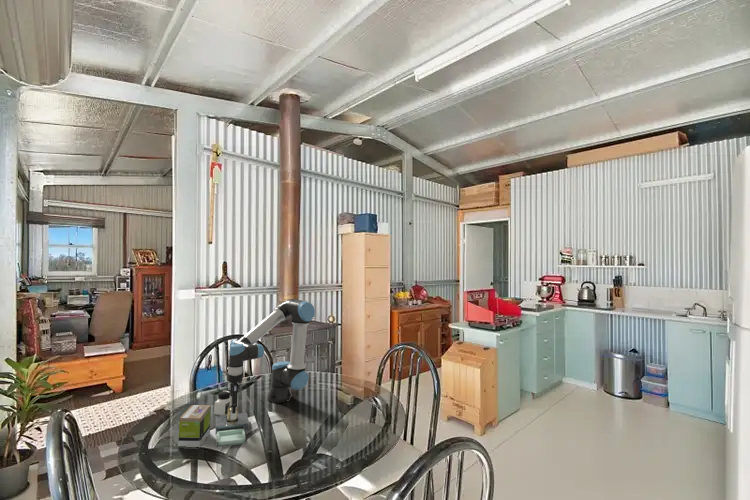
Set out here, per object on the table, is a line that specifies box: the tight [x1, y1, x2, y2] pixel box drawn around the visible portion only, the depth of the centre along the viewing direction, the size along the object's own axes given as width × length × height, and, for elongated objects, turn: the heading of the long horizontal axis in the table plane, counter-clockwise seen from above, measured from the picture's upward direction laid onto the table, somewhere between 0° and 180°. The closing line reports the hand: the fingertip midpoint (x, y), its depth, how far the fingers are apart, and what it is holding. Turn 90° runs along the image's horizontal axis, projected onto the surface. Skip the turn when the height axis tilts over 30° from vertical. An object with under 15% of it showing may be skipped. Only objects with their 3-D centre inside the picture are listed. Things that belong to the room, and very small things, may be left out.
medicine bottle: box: [213, 390, 231, 416], centre depth 217 cm, size 7×7×12 cm
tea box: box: [177, 404, 212, 448], centre depth 185 cm, size 15×10×15 cm, turn 5°
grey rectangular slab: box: [215, 412, 250, 435], centre depth 201 cm, size 16×13×4 cm
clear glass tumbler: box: [227, 406, 239, 422], centre depth 201 cm, size 5×5×10 cm
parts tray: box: [216, 428, 246, 448], centre depth 188 cm, size 13×11×2 cm
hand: (232, 413), depth 201 cm, fingers open, 12 cm apart
